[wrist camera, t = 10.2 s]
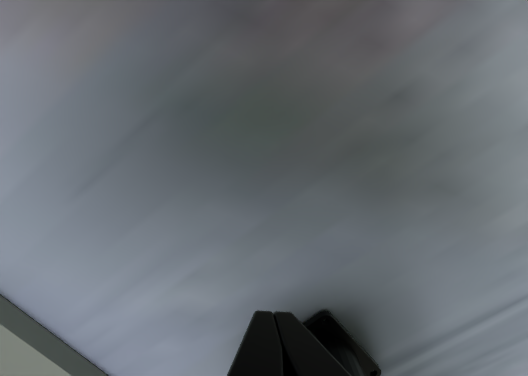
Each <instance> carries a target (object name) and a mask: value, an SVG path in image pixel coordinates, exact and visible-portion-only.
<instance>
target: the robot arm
mask: <svg viewBox="0 0 528 376" xmlns="http://www.w3.org/2000/svg"><path fill="white" fill-rule="evenodd" d="M323 319H327V320H326V321H322V320H323ZM373 370H374V371H373ZM371 371H372V372H371ZM380 374H381V370H380V368H379V366H378V364H377V363H376V362H375V361H374V360H373V359H372V358H371V357H370V355H369V354H368V353H367V352H366V351H365V350H364V349H363V348H362V347H361V346H360V345H359V344H358V342H357V341H356V340H355V339H354V338H353V337H352V336H351V335H350V334H349V333H348V332H347V330H346V329H345V328H344V327H343V326H342V325H341V324H340V323H339V322H338V321H337V320H336V318H335V317H334V316H333V315H332V314H331V313H330V312H328V311H322V312H320V313H318V314H317V315H315V316H314V317H313V318H311V319H310V320H308V321H307V322H305V323H304V324H302V323H301V322H300V321H299V320H298V319H297V318H296V317H295V316H294V315H293V314H292V313H291V312H278V311H276V312H274V313H272V312H271V311H255V313H254V314H253V317H252V319H251V321H250V324H249V326H248V328H247V331H246V333H245V335H244V337H243V340H242V342H241V344H240V347H239V349H238V351H237V354H236V356H235V358H234V360H233V363H232V365H231V367H230V370H229V372H228V374H227V376H380Z"/></svg>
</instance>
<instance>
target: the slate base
mask: <svg viewBox="0 0 528 376" xmlns="http://www.w3.org/2000/svg"><path fill="white" fill-rule="evenodd" d="M0 376H107V375H106V374H105V373H103V372H102V371H101V370H99V369H98V368H97V367H95V366H94V365H93V364H91V363H90V362H89V361H87V360H86V359H85V358H83V357H82V356H81V355H80V354H78V353H77V352H76V351H74V350H73V349H72V348H70V347H69V346H68V345H66V344H65V343H64V342H62V341H61V340H60V339H58V338H57V337H56V336H54V335H53V334H52V333H50V332H49V331H48V330H46V329H45V328H44V327H42V326H41V325H40V324H38V323H37V322H36V321H34V320H33V319H32V318H30V317H29V316H28V315H26V314H25V313H24V312H22V311H21V310H20V309H18V308H17V307H16V306H14V305H13V304H12V303H10V302H9V301H8V300H6V299H5V298H4V297H2V296H1V295H0Z"/></svg>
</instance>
